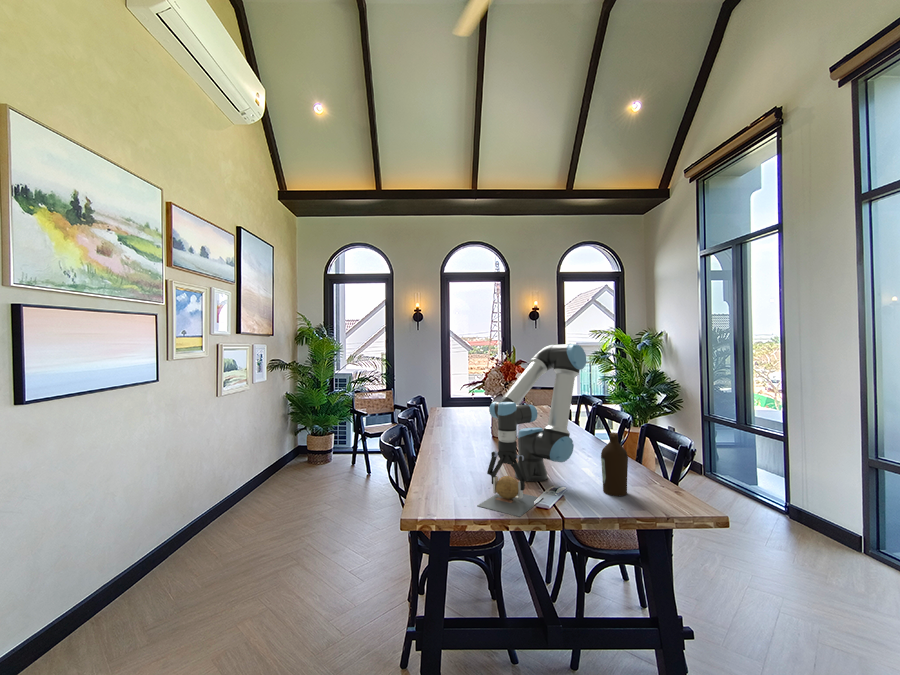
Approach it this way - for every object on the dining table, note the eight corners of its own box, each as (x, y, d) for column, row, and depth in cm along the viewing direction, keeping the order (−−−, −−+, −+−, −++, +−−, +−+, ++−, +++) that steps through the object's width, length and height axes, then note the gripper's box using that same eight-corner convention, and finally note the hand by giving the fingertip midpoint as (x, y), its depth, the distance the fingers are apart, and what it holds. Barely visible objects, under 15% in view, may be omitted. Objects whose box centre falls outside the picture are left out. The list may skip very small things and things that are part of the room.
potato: (517, 491, 173) (517, 472, 173) (522, 504, 158) (521, 483, 159) (494, 491, 173) (494, 472, 173) (496, 503, 159) (496, 483, 159)
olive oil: (628, 490, 175) (626, 431, 176) (629, 498, 165) (628, 436, 166) (601, 487, 179) (600, 430, 180) (601, 495, 169) (600, 434, 170)
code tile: (503, 490, 176) (503, 489, 176) (543, 498, 165) (543, 497, 165) (477, 506, 158) (477, 505, 158) (519, 516, 147) (519, 515, 147)
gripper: (478, 438, 170) (478, 492, 169) (529, 445, 157) (530, 503, 156) (487, 435, 176) (487, 487, 175) (537, 442, 163) (538, 498, 162)
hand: (507, 495), depth 166 cm, fingers closed on potato, 10 cm apart
